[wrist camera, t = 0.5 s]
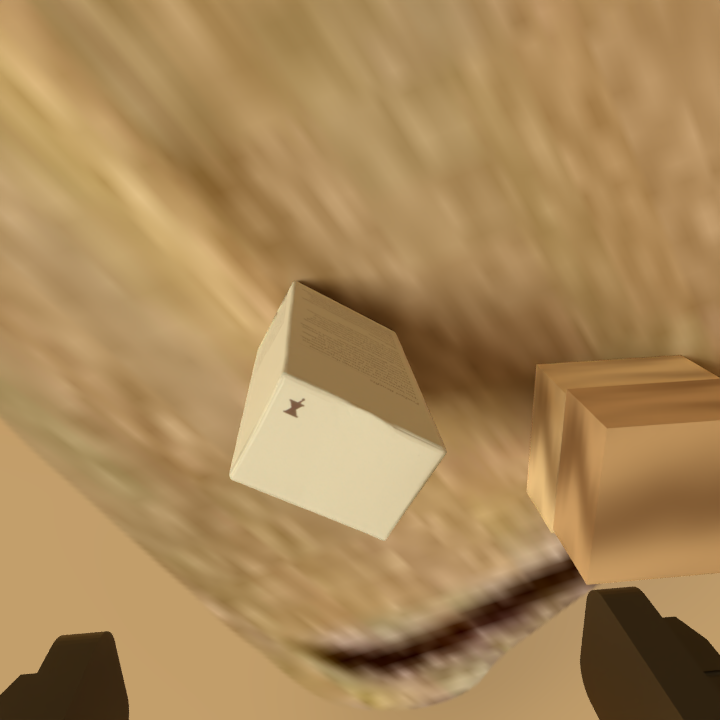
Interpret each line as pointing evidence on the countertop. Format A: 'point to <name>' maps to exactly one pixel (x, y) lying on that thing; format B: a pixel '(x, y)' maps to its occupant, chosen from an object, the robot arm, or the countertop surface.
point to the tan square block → (641, 481)
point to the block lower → (552, 407)
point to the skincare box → (335, 417)
